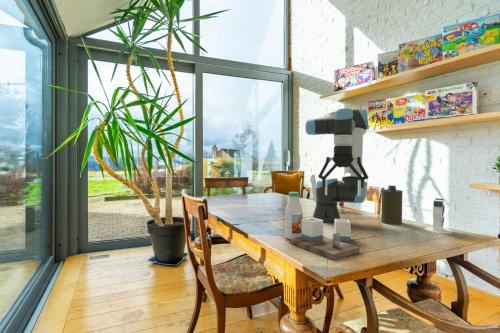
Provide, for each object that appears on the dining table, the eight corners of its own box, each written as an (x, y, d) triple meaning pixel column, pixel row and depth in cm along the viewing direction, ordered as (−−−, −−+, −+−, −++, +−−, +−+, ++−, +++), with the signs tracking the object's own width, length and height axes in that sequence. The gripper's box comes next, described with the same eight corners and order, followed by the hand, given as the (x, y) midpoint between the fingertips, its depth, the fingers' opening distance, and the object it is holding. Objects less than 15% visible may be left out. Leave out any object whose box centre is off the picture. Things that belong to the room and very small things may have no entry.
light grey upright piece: (452, 235, 128) (452, 202, 127) (422, 231, 135) (423, 200, 134) (452, 229, 137) (453, 199, 137) (425, 226, 144) (425, 197, 144)
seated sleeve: (301, 238, 116) (301, 219, 115) (312, 236, 119) (312, 217, 119) (312, 242, 111) (312, 221, 110) (322, 239, 114) (323, 220, 114)
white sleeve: (335, 240, 120) (335, 221, 119) (334, 236, 125) (334, 218, 125) (350, 241, 118) (350, 222, 118) (348, 237, 124) (348, 219, 124)
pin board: (290, 243, 115) (290, 226, 115) (315, 238, 123) (315, 222, 123) (333, 260, 97) (334, 239, 97) (359, 252, 104) (359, 233, 104)
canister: (405, 225, 147) (405, 186, 146) (383, 224, 149) (384, 186, 148) (398, 220, 158) (399, 184, 157) (378, 219, 160) (379, 184, 159)
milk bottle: (284, 239, 121) (284, 193, 120) (285, 235, 128) (285, 191, 128) (303, 240, 120) (303, 193, 119) (302, 235, 127) (302, 191, 127)
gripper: (313, 145, 120) (312, 195, 120) (376, 144, 115) (375, 197, 115) (312, 146, 127) (312, 193, 127) (372, 145, 122) (371, 194, 122)
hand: (342, 195), depth 121 cm, fingers open, 13 cm apart
